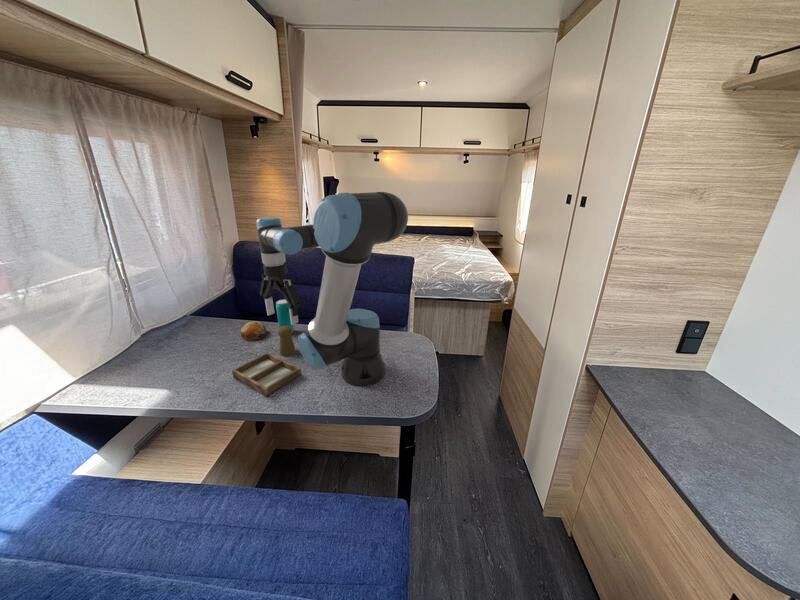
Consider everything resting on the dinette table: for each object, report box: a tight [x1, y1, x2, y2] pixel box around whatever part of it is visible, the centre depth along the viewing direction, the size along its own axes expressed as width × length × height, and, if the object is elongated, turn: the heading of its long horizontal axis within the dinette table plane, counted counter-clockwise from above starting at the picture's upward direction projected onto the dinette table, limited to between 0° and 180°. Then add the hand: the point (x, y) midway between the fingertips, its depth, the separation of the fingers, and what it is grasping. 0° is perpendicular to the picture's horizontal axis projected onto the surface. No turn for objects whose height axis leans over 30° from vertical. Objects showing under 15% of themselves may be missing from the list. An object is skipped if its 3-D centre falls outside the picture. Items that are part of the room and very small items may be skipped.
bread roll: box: [239, 320, 267, 342], centre depth 134 cm, size 10×10×8 cm
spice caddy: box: [231, 351, 302, 398], centre depth 107 cm, size 18×14×3 cm
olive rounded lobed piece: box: [277, 326, 297, 357], centre depth 120 cm, size 6×6×11 cm
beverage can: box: [275, 298, 294, 334], centre depth 133 cm, size 6×6×15 cm
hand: (282, 318), depth 116 cm, fingers open, 13 cm apart
